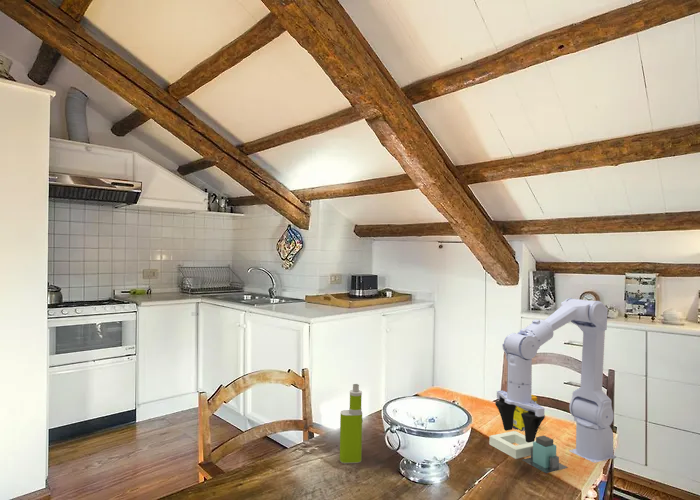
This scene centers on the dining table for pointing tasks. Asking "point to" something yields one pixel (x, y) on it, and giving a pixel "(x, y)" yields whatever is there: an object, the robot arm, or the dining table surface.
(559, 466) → the grey socket plate
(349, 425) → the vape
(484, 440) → the dining table surface
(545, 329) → the robot arm
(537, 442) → the plug
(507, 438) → the port
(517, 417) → the supplement box
